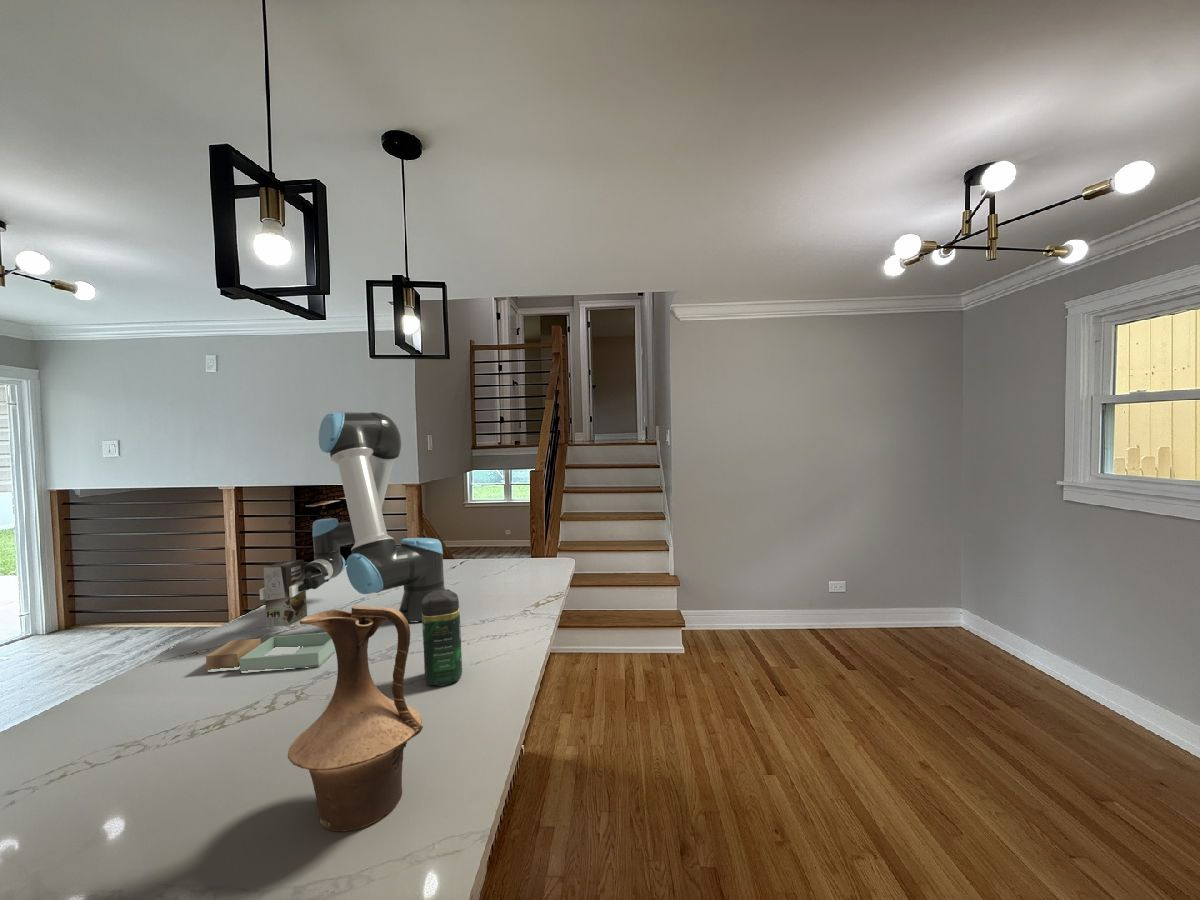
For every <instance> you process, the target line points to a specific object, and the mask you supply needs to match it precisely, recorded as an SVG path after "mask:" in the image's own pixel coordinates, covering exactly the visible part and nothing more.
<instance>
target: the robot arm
mask: <svg viewBox="0 0 1200 900" xmlns="http://www.w3.org/2000/svg"><path fill="white" fill-rule="evenodd" d="M318 445H319V449H321V452H323V453H326V454H329V455H330V460H331V462H334V463H335V464H337V466H338V470H339V475H340V477H341V479H340V480H341V483H342V488H343V493H344V497H345V501H346V505H347V511H348V515H349V520H350V521H344V522H339V520H338V519H337V518H335V517H334V518H333V517H329V518H322V519H316V520H314V521H313V523H312V542H313V551H314V552H313V553H314V554H313V555H314V556H313V557H314V560H313V561H309V563H307V564H304V569H305V579H304V584H303V581H300V582H298V583H296V584H294V585H292V586H290V587H289V595H290V597H294V596H296V595H297V594H299V593H301V592H303V591H304V590H306V591H309V590H311V589H312V590H316V589H318V588H320V587H321V586H322V585H324V584H326V583H328V582H329V581H330V580H331V579H333V578H334V579H335V578H336V577H338V576H339V575H340V574H341V573H343V571H344V569H345V570H346V575H347V579H348V581H349V583H350V585H351V586H352V588H354V590H356V592H357V593H359V594H362V595H371V594H378V593H381V592H383V591H386V590H387V591H388V590H391V589H394V588H395V589H396V588H399V587H403V595H402V598H401V601H400V605H399V609H398V611H399V612H401V613H402V614H403V615H404V617H405V618H406V620H407V621H422V606H421V604H422V600H423V598H424V597H425V596H426V595H428V594H429V593H430V592H431V591H437V590H446V587H445V576H444V557H443V555H444V552H443V551H444V550H443V545H442V542H441V541H440V540H439V539H437V538H431V537H407V538H406V537H405V538H403V539H401V541H400V545H396V542H395V541H396V540H395V538H394V537H392V536H390V535H389V534H388V531H387V528H386V524H385V521H384V516H383V510H382V509H383V506H384V501H385V497H386V494H387V491H388V490H387V489H388V486H389V483H390V477H391V474H392V471H393V467H394V463H395V460H397V459H398V458H400V453H401V450H402V449H401V448H402V437H401V432H400V431H399V428H398V426H397V424H396V423H395V422H394V421H393V420H392V419H391V417H389V416H387V415H386V414H383V413H381V412H344V411H340V412H329V413H327V414H325V416H324V417H323V418H322V420H321V423H320V426H319V430H318ZM348 545H353V546H352V547H351V549H350V551H351V552H350V553H351V554H350V555H348V557H347V558H346V560H345V558H344V557H343V555H341V547H343V546H348ZM259 600H260V601H262V600H263V601H264V600H265V587H264V586H263V587H262V588H260V589H259Z"/></svg>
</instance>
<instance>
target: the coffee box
mask: <svg viewBox="0 0 1200 900" xmlns="http://www.w3.org/2000/svg"><path fill="white" fill-rule="evenodd" d="M304 565H305V559H295V560H293V559H292V560H283V561H279V562H277V563H274V564H271V565H268V566H263V581H264V582H263V588H264V587H265V599H264V600H265V601H264V603H265V620H266V624H265V625H266V627H267V628H271V627H272V628H273V627H290V626H291V625H293V624H295V623H297V622H300V620H302V619H303V618H305V617H308V606H307V605H308V603H307V602H308V601H307V590H304V591H303V592H301V593H299V594H297V595H296V596H294V597H290V595H289V587H290V586H292V585H294V584H296V583H298V582H300V581H303V584H304V579H305V569H304Z"/></svg>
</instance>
